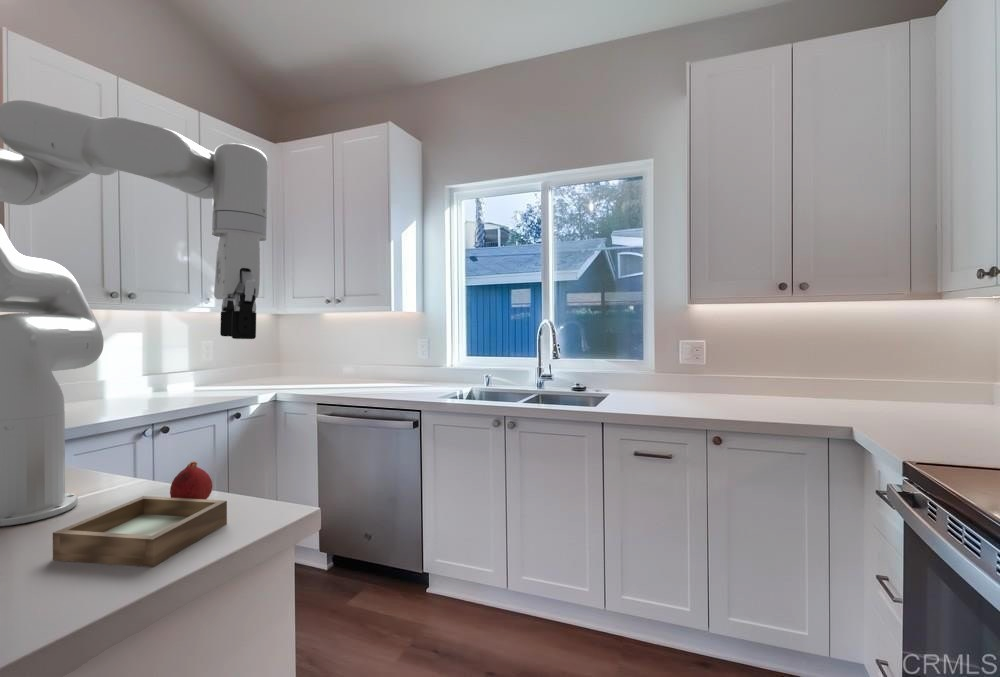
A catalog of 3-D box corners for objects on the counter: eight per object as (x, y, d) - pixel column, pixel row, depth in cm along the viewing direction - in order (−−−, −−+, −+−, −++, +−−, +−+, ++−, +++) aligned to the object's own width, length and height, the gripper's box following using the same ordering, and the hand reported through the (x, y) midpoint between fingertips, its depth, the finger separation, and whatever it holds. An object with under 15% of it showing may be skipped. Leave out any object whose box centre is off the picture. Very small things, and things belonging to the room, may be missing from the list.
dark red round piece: (192, 519, 78) (192, 468, 78) (161, 515, 79) (160, 465, 79) (220, 506, 84) (220, 458, 83) (190, 503, 85) (190, 456, 84)
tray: (52, 559, 64) (52, 532, 64) (143, 518, 78) (142, 496, 78) (152, 567, 62) (152, 539, 62) (226, 523, 76) (226, 500, 76)
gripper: (204, 231, 83) (202, 335, 83) (222, 215, 69) (219, 339, 70) (253, 237, 87) (251, 335, 88) (279, 224, 74) (276, 340, 74)
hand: (237, 337), depth 79 cm, fingers open, 9 cm apart
